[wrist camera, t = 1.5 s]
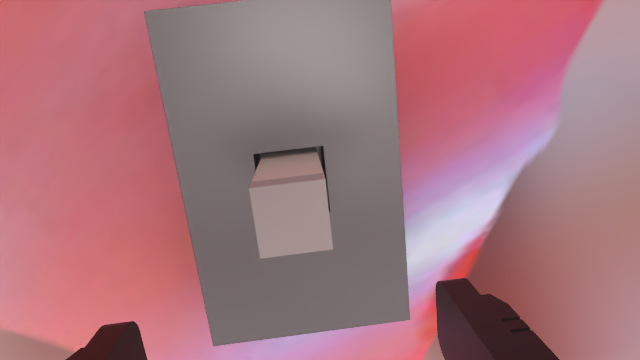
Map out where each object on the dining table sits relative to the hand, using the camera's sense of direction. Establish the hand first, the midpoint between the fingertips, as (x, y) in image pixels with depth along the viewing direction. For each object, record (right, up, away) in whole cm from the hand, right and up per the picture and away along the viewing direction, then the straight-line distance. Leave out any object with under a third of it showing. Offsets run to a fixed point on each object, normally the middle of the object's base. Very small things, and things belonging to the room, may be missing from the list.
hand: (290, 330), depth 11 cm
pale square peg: (-1, +5, +19) cm, 19 cm away
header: (-1, +5, +19) cm, 20 cm away
